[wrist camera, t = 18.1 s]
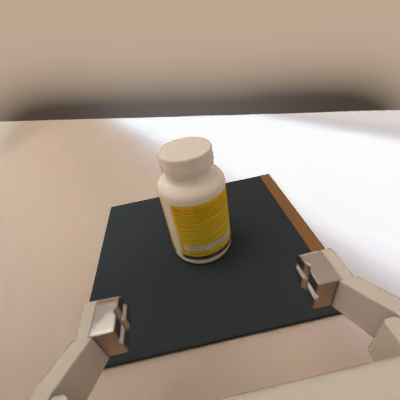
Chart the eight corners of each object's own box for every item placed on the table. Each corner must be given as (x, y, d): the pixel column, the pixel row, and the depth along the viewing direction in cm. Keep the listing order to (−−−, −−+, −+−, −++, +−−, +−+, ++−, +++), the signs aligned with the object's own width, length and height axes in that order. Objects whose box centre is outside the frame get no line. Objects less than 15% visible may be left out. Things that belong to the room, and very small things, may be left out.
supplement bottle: (243, 240, 23) (237, 142, 17) (200, 277, 20) (175, 176, 15) (205, 216, 27) (189, 127, 21) (163, 244, 24) (132, 153, 18)
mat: (74, 375, 16) (72, 373, 16) (112, 208, 31) (111, 206, 31) (366, 307, 17) (367, 305, 17) (268, 176, 31) (268, 173, 31)
